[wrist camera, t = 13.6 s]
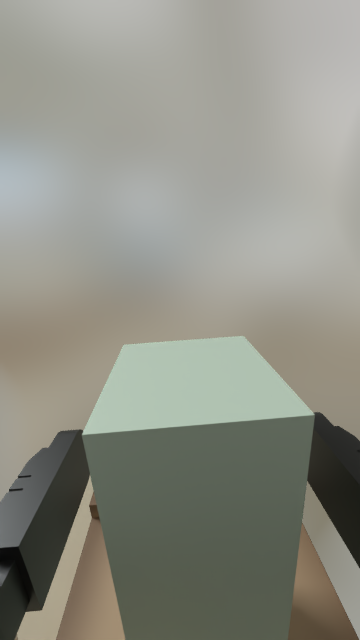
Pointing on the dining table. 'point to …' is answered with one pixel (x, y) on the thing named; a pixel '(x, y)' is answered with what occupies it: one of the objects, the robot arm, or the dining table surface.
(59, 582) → the dining table surface
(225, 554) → the pillar
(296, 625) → the plinth
